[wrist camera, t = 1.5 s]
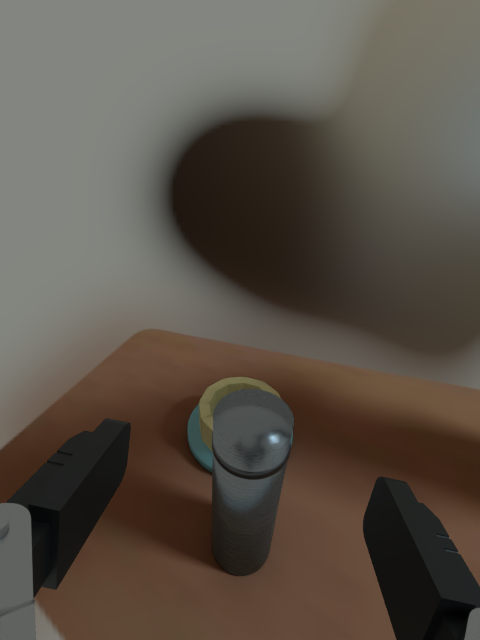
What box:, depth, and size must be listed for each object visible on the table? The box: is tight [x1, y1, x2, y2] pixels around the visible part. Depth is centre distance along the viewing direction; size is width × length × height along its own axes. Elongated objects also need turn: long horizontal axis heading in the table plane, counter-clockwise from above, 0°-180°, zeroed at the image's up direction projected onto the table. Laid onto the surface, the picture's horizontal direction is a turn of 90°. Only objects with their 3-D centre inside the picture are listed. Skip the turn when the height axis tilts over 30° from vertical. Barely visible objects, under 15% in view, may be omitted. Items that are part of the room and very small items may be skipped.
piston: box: [212, 389, 294, 576], centre depth 22 cm, size 5×5×14 cm
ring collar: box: [188, 377, 293, 473], centre depth 34 cm, size 11×11×4 cm
